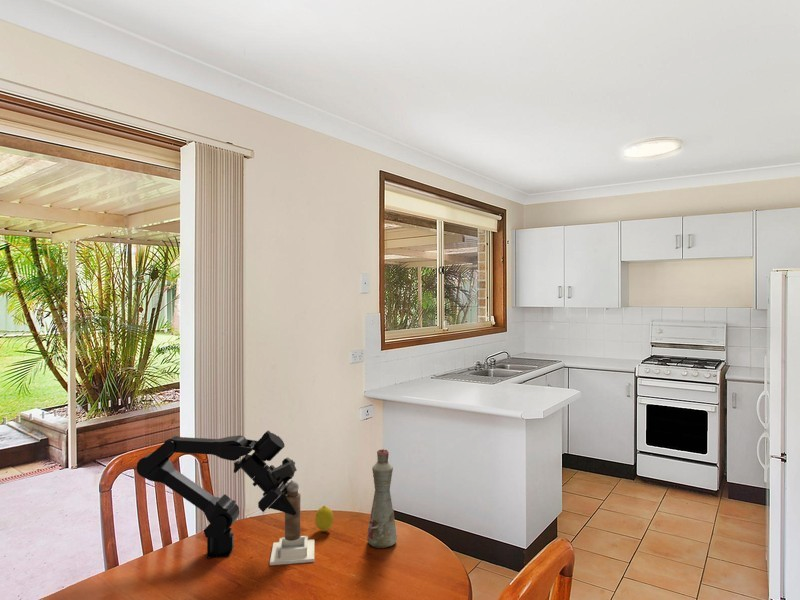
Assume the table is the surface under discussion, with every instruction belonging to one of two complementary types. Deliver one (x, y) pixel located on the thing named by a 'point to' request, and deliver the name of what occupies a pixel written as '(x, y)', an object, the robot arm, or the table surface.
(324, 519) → the lemon
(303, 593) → the table surface
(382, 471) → the bottle
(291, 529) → the pepper mill
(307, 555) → the mill stand
